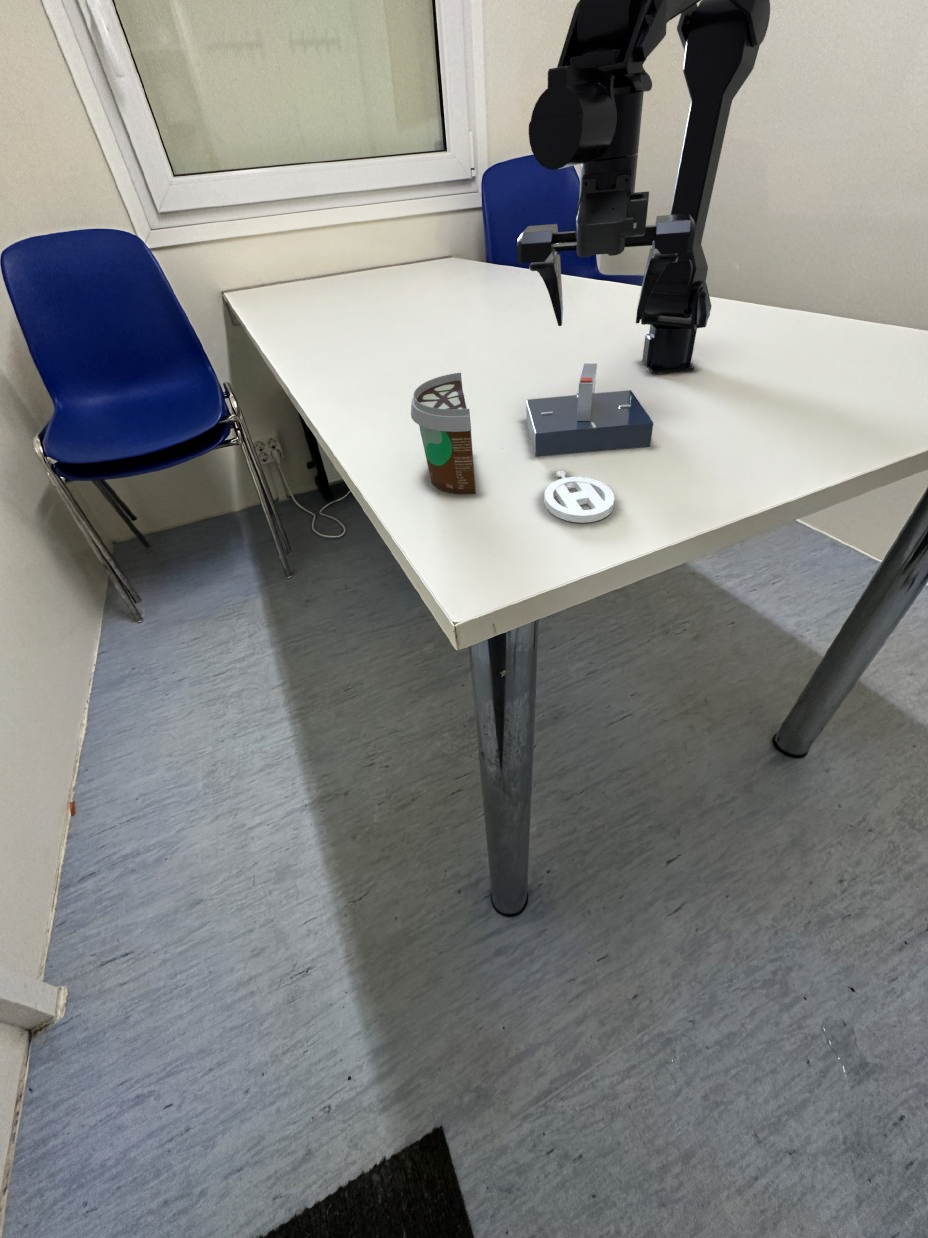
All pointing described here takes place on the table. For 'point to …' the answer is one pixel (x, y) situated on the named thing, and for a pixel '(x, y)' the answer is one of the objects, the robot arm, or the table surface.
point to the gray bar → (586, 392)
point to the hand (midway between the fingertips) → (598, 323)
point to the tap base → (588, 424)
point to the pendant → (579, 499)
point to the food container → (445, 433)
